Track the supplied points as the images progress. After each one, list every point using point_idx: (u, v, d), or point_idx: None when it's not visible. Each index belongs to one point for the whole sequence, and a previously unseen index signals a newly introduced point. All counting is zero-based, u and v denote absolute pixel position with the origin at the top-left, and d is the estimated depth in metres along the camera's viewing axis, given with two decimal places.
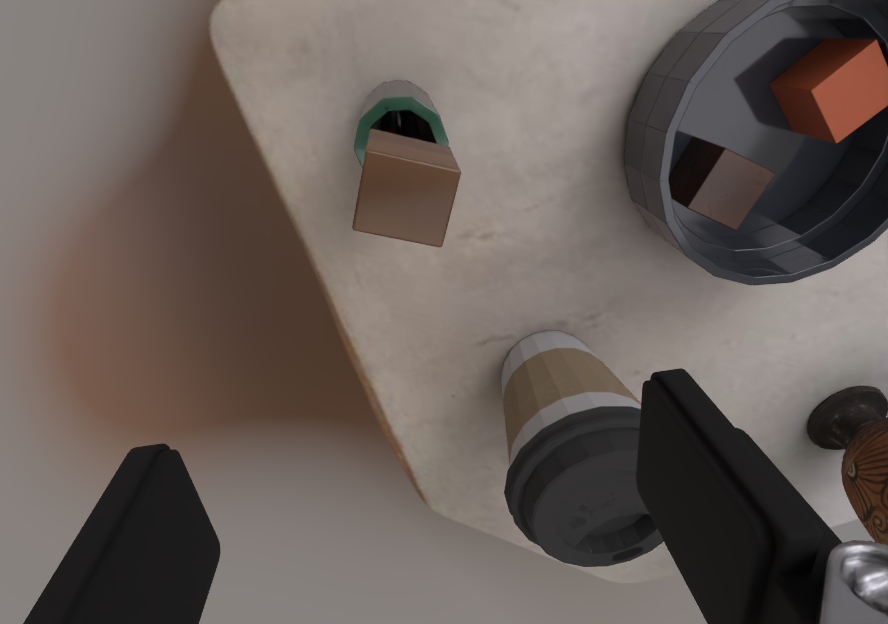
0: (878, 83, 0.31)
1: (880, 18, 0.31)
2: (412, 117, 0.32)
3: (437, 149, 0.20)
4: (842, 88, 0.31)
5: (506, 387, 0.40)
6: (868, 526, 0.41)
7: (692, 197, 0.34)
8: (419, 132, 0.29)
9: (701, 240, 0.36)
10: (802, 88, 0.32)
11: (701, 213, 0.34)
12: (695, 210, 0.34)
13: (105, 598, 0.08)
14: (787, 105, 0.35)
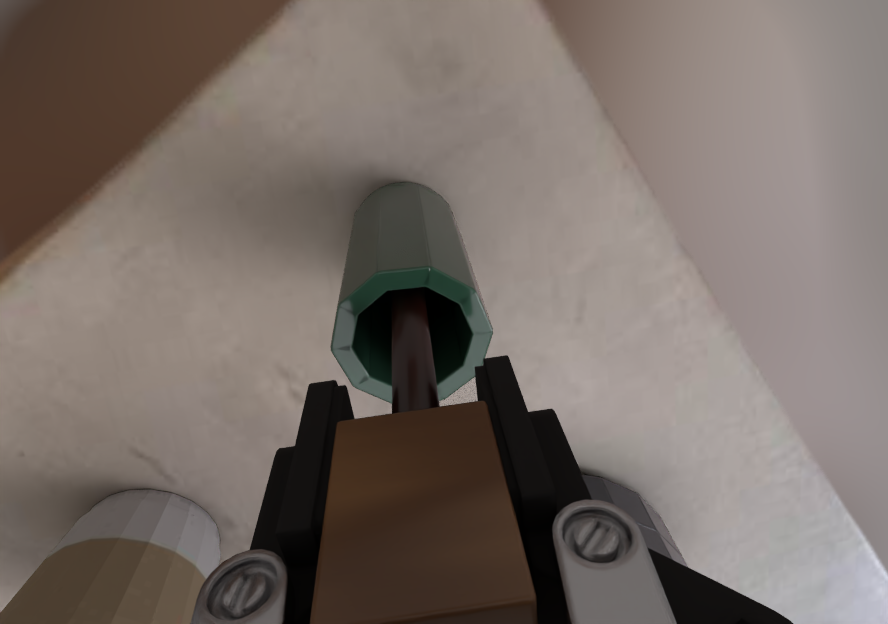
0: None
1: None
2: None
3: None
4: None
5: (90, 544, 0.25)
6: None
7: None
8: None
9: None
10: None
11: None
12: None
13: None
14: None
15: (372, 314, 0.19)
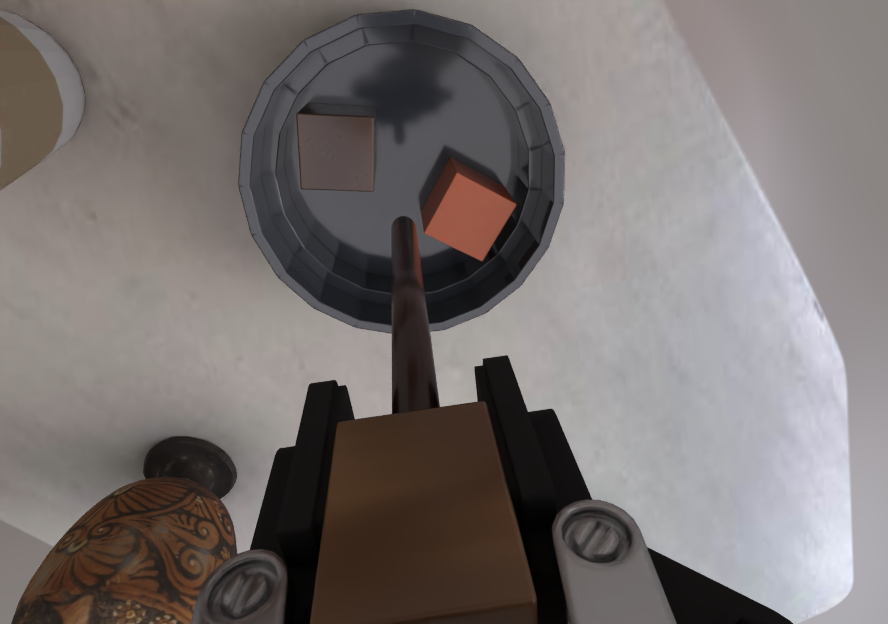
0: (485, 233, 0.32)
1: (533, 205, 0.33)
2: None
3: None
4: (469, 202, 0.31)
5: None
6: (59, 541, 0.33)
7: (310, 113, 0.28)
8: None
9: (274, 166, 0.30)
10: (456, 169, 0.31)
11: (298, 134, 0.29)
12: (298, 125, 0.28)
13: None
14: (438, 183, 0.34)
15: None
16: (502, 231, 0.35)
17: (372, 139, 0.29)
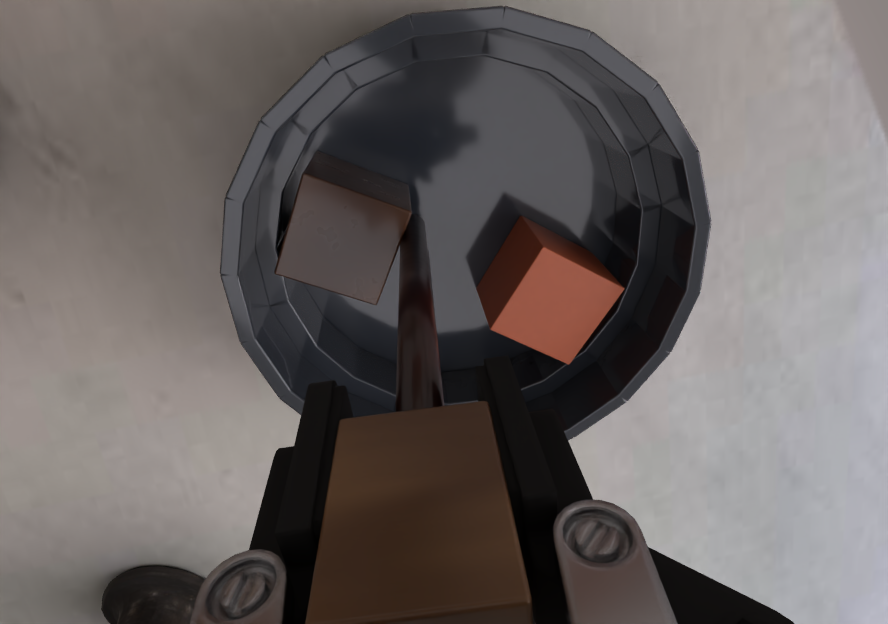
0: (576, 328, 0.22)
1: (640, 285, 0.23)
2: None
3: None
4: (558, 287, 0.21)
5: None
6: None
7: (323, 178, 0.19)
8: None
9: (275, 237, 0.21)
10: (539, 239, 0.21)
11: (296, 202, 0.19)
12: (300, 189, 0.19)
13: None
14: (505, 252, 0.24)
15: None
16: None
17: (399, 240, 0.20)
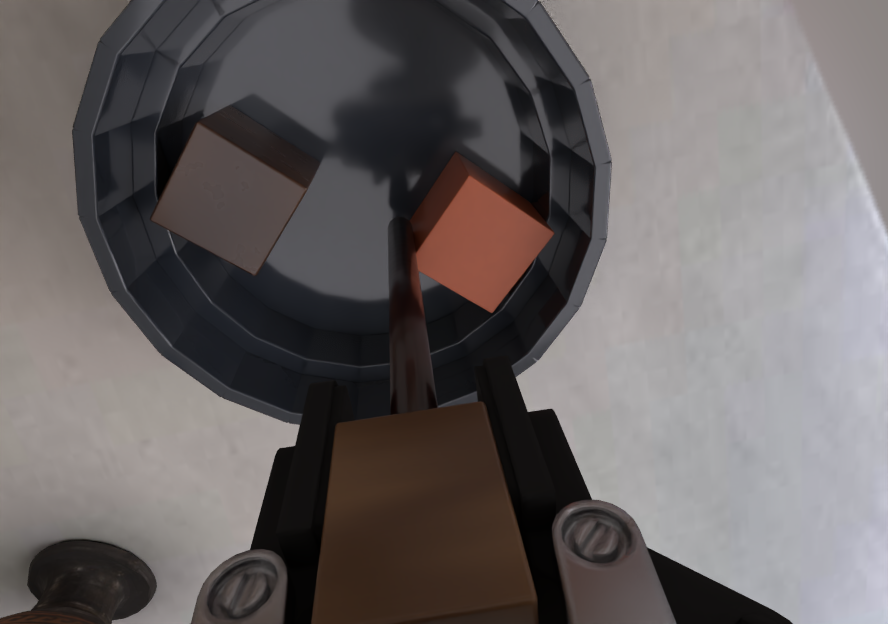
0: (501, 272, 0.21)
1: (555, 238, 0.22)
2: None
3: None
4: (483, 223, 0.20)
5: None
6: None
7: (218, 132, 0.18)
8: None
9: (154, 182, 0.19)
10: (467, 170, 0.20)
11: (184, 150, 0.18)
12: (191, 137, 0.18)
13: None
14: (435, 189, 0.22)
15: None
16: None
17: (290, 214, 0.19)
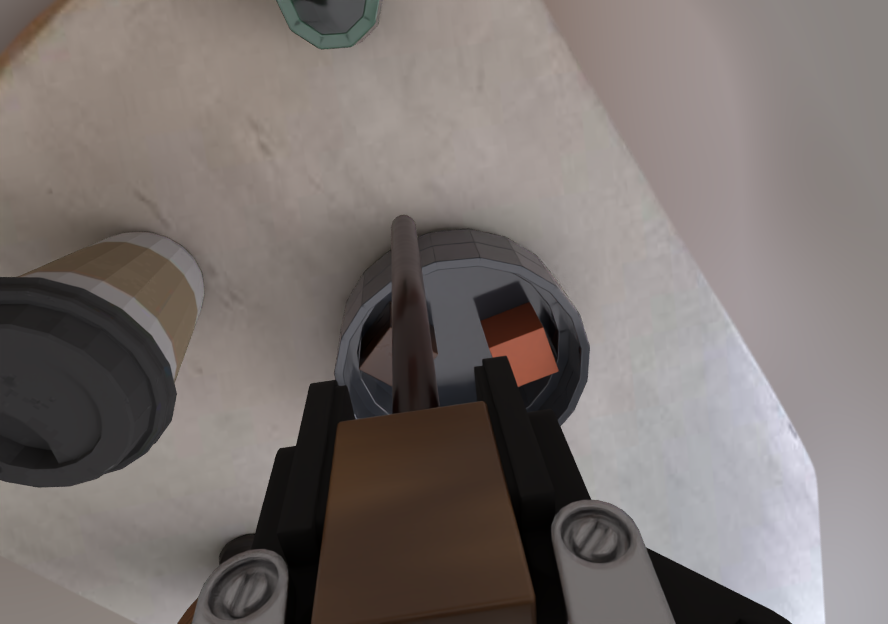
0: (525, 375, 0.39)
1: (560, 370, 0.41)
2: None
3: None
4: (533, 350, 0.38)
5: (104, 243, 0.33)
6: None
7: None
8: None
9: (357, 347, 0.38)
10: (540, 322, 0.38)
11: (382, 339, 0.37)
12: (386, 334, 0.36)
13: None
14: (512, 314, 0.40)
15: (310, 20, 0.27)
16: (533, 383, 0.43)
17: None
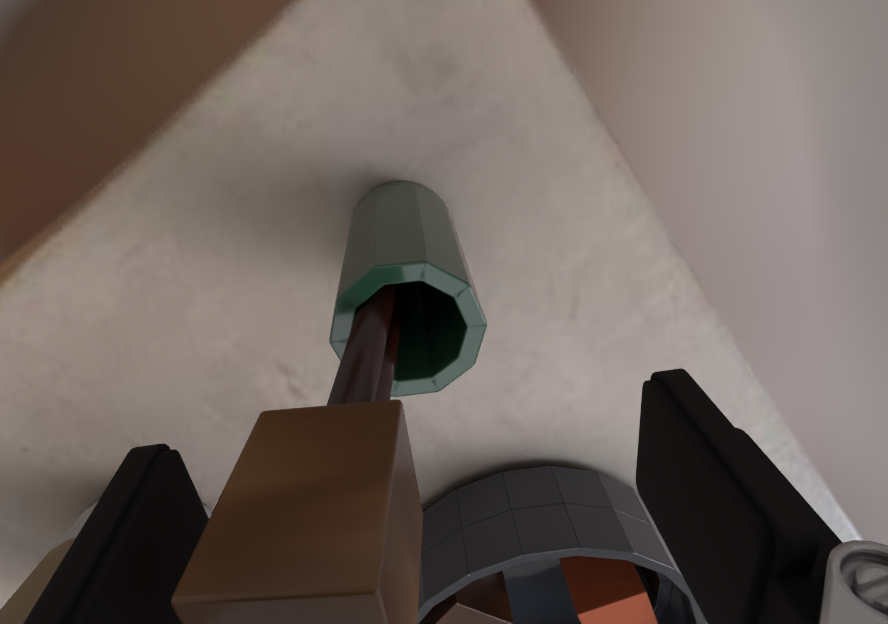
0: None
1: (658, 617, 0.33)
2: None
3: (417, 543, 0.11)
4: (631, 613, 0.30)
5: None
6: None
7: (466, 604, 0.29)
8: None
9: None
10: None
11: (445, 615, 0.29)
12: (451, 610, 0.29)
13: (105, 598, 0.08)
14: None
15: None
16: None
17: None
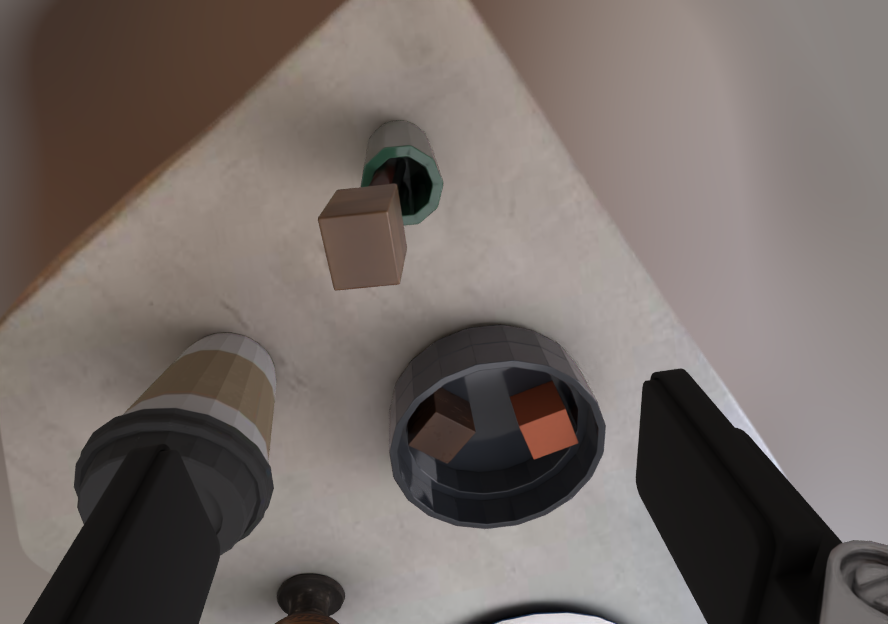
0: (549, 446, 0.45)
1: (579, 439, 0.47)
2: (405, 169, 0.36)
3: (403, 246, 0.25)
4: (557, 427, 0.44)
5: (201, 352, 0.39)
6: None
7: (443, 413, 0.43)
8: None
9: (406, 425, 0.45)
10: (562, 403, 0.44)
11: (428, 421, 0.43)
12: (432, 417, 0.43)
13: (105, 598, 0.08)
14: (537, 392, 0.47)
15: None
16: None
17: (467, 441, 0.44)
